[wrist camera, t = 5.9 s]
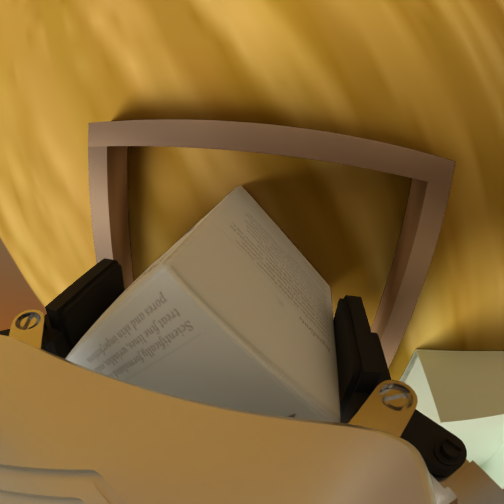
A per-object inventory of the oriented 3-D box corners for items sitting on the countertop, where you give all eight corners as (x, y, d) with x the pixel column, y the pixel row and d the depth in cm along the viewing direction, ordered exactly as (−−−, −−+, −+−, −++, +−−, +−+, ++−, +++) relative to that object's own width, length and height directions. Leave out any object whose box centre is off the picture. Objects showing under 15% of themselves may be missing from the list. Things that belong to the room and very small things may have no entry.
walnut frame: (110, 121, 12) (88, 122, 10) (438, 156, 10) (455, 161, 9) (130, 349, 17) (118, 366, 15) (362, 391, 15) (364, 412, 14)
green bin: (415, 348, 14) (440, 422, 9) (576, 346, 12) (602, 384, 7) (328, 484, 21) (325, 529, 16) (475, 469, 19) (483, 503, 14)
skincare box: (241, 180, 12) (161, 254, 5) (333, 288, 13) (348, 429, 6) (150, 264, 14) (56, 365, 7) (235, 348, 15) (195, 471, 9)
